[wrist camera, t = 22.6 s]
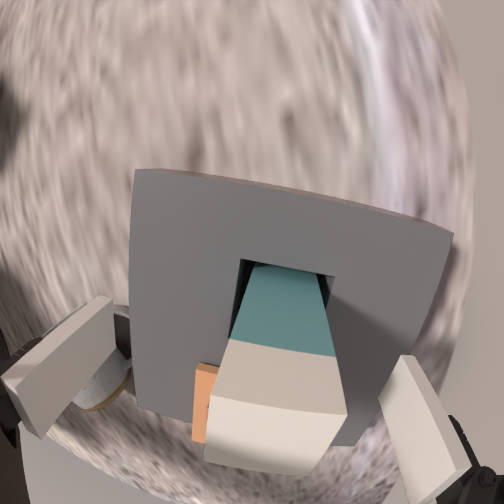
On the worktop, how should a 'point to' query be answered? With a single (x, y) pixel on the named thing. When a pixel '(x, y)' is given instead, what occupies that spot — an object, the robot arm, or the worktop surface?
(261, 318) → the teal plug
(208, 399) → the terracotta shutter
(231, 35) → the worktop surface
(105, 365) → the ceramic mug
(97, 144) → the worktop surface
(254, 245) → the socket block
